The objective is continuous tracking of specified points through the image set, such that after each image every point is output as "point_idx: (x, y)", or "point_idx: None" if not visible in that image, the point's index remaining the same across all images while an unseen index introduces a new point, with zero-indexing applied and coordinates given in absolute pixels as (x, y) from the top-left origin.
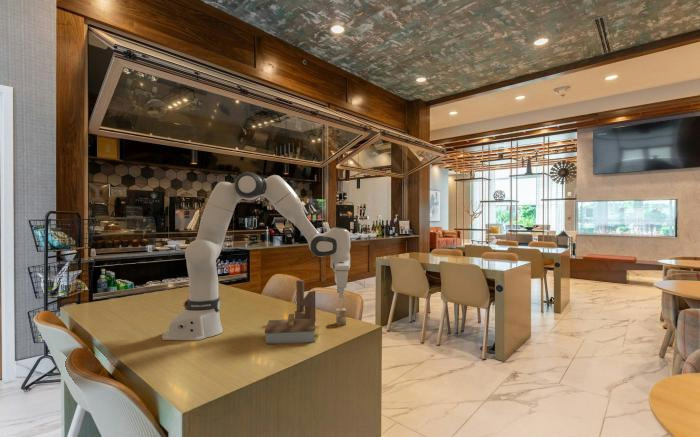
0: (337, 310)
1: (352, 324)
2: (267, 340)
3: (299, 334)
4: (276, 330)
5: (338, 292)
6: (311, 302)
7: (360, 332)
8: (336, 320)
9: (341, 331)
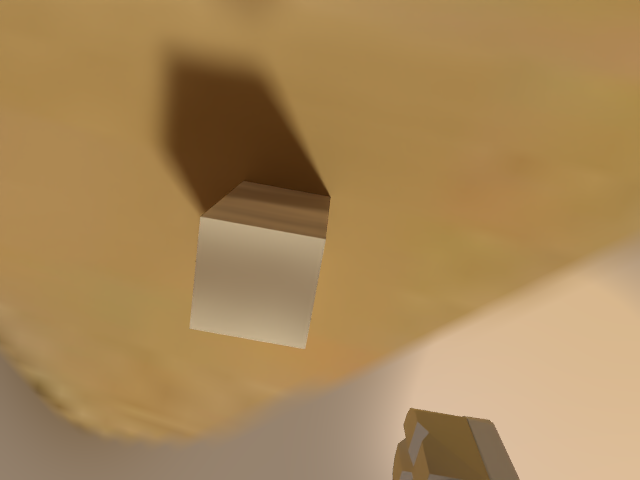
0: (210, 226)
1: None
2: None
3: None
4: None
5: (406, 430)
6: None
7: (17, 312)
8: (311, 199)
9: (64, 174)
